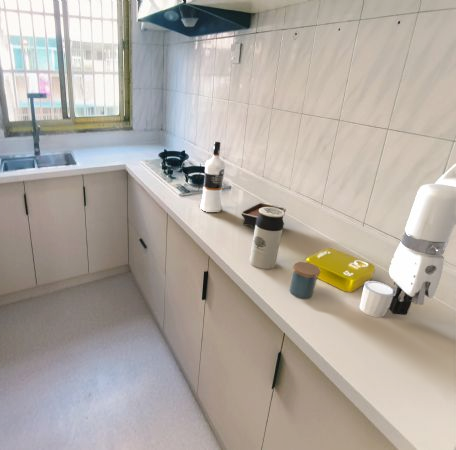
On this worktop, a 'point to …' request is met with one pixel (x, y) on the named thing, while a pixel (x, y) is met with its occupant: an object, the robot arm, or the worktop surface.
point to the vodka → (213, 182)
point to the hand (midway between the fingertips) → (397, 312)
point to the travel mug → (267, 237)
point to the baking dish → (256, 213)
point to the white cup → (376, 298)
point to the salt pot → (304, 280)
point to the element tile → (341, 269)
